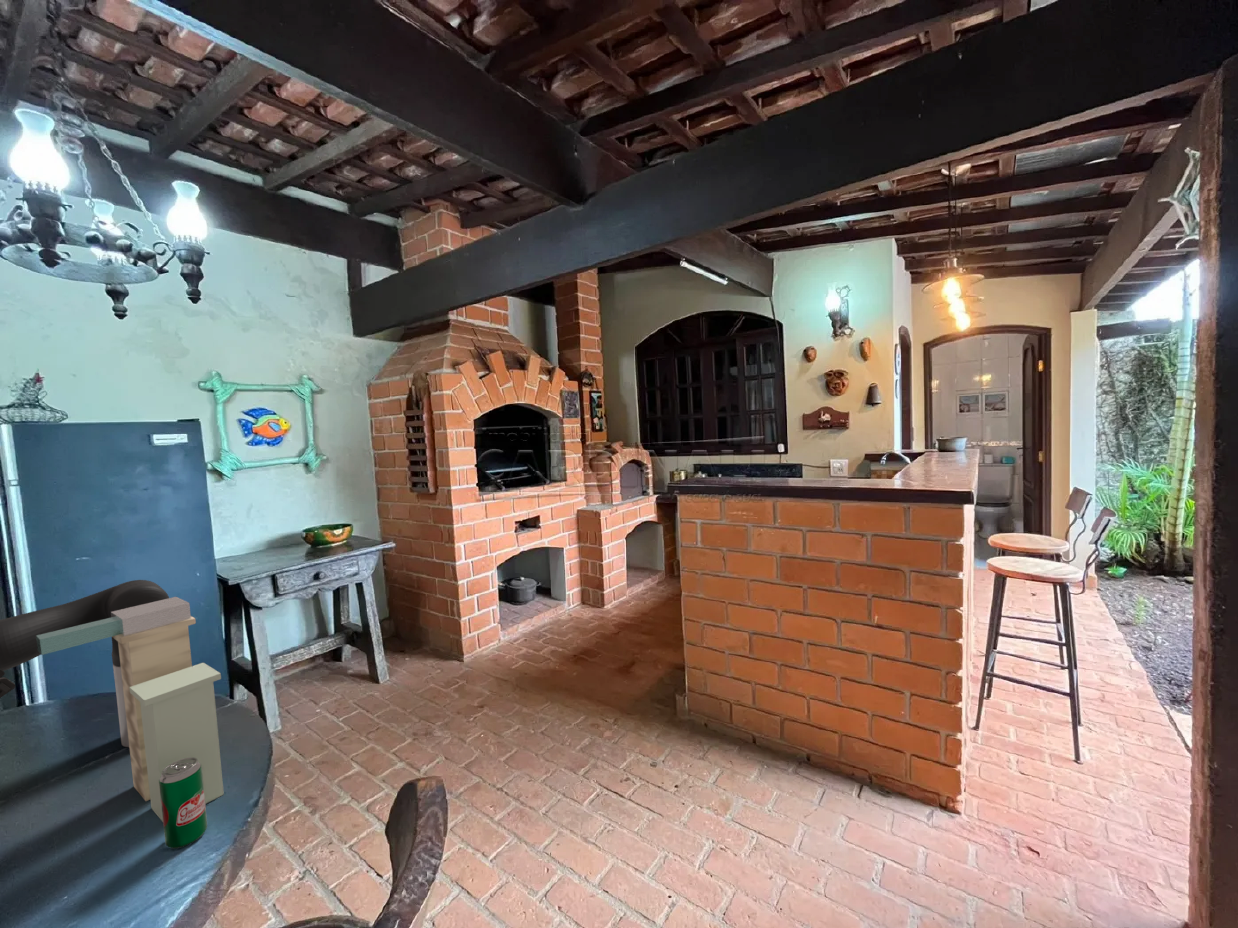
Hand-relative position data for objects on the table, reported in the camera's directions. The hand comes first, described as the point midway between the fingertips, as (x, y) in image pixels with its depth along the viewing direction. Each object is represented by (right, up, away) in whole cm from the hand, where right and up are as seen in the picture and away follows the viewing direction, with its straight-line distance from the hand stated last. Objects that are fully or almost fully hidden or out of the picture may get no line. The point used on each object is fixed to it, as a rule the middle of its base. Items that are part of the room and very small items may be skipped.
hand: (5, 674), depth 76 cm
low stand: (+18, -27, +11) cm, 34 cm away
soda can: (+25, -27, +3) cm, 37 cm away
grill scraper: (+7, +3, +11) cm, 13 cm away
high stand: (+10, -27, +17) cm, 33 cm away
